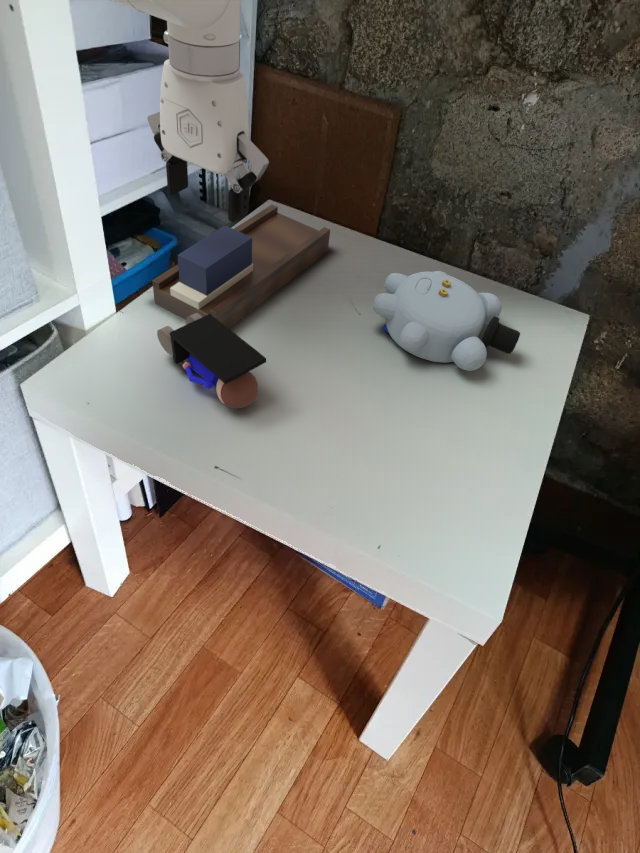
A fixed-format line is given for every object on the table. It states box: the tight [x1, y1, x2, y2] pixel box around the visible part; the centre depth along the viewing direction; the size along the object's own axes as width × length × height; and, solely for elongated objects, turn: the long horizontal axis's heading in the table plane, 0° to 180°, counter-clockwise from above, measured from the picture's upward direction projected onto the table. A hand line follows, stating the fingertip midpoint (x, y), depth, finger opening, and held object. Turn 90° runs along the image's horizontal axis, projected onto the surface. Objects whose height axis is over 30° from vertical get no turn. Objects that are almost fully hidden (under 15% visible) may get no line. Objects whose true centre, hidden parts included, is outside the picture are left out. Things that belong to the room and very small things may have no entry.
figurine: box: [372, 270, 521, 372], centre depth 89 cm, size 17×8×20 cm
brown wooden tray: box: [151, 204, 331, 329], centre depth 96 cm, size 28×11×4 cm, turn 147°
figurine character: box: [156, 313, 267, 409], centre depth 79 cm, size 7×8×15 cm
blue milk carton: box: [170, 224, 253, 309], centre depth 88 cm, size 12×5×6 cm, turn 147°
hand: (207, 203), depth 81 cm, fingers open, 9 cm apart
